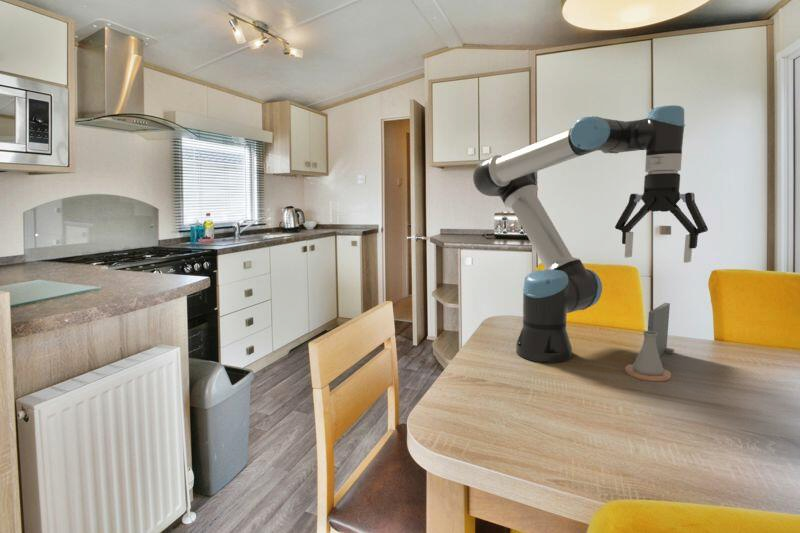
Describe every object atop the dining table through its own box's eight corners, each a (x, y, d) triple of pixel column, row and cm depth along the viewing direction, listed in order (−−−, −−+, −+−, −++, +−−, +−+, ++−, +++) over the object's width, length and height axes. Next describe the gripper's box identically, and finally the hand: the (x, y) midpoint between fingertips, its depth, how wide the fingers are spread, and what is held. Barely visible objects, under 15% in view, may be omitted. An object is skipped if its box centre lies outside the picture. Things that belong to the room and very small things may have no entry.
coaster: (619, 373, 111) (619, 371, 111) (633, 363, 118) (633, 361, 118) (663, 385, 104) (664, 382, 104) (676, 373, 111) (676, 370, 111)
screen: (637, 361, 119) (641, 310, 117) (654, 348, 129) (657, 301, 127) (658, 366, 116) (662, 314, 113) (673, 352, 125) (677, 304, 123)
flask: (636, 375, 108) (638, 336, 107) (628, 364, 115) (630, 327, 114) (669, 377, 107) (672, 337, 105) (658, 366, 114) (661, 328, 112)
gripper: (604, 175, 115) (600, 256, 118) (718, 169, 96) (710, 266, 100) (617, 175, 120) (612, 253, 123) (728, 170, 101) (720, 262, 104)
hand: (656, 259), depth 111 cm, fingers open, 13 cm apart
